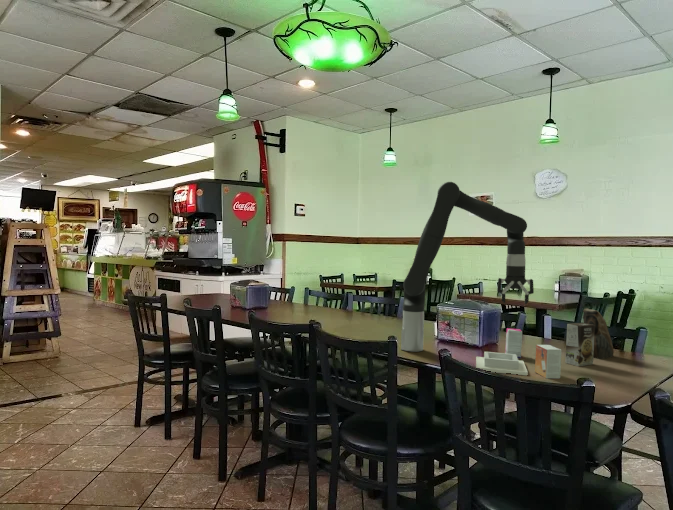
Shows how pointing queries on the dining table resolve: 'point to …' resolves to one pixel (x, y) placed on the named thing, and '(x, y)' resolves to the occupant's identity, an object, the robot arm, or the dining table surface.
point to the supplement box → (513, 342)
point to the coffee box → (580, 344)
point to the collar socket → (501, 363)
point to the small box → (548, 361)
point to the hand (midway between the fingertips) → (514, 303)
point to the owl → (599, 334)
